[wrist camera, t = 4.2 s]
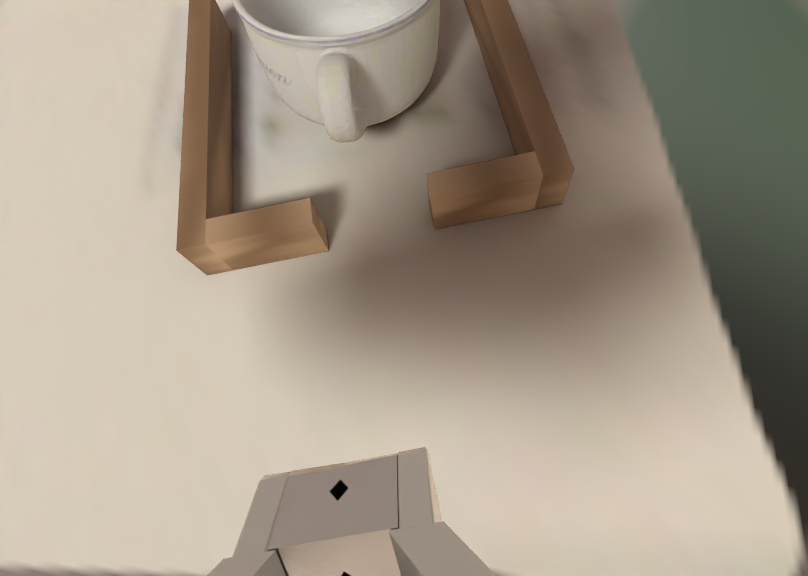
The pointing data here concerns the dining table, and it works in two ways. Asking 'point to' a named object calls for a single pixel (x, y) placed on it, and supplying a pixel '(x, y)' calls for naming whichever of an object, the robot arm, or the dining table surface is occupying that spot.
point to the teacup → (345, 56)
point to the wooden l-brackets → (299, 220)
